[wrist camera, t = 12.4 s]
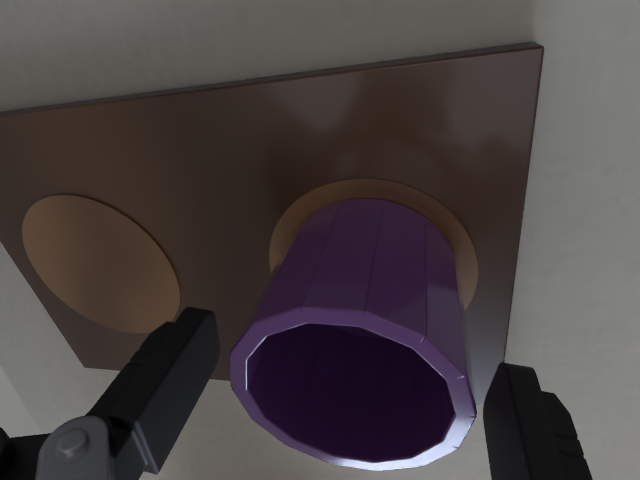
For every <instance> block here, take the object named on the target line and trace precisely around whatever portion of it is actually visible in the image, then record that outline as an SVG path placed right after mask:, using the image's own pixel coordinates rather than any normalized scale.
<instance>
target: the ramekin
mask: <svg viewBox="0 0 640 480" xmlns="http://www.w3.org/2000/svg"><path fill="white" fill-rule="evenodd" d="M229 362H230V382H231V387H232V390H233V392H234V393H235V395H236V396H237V398H238V399H239V401H240V402H241V404H242V405H243V407H244V408H245V410H246V411H247V413H248V414H249V416H250V417H251V419H253V421H254V422H256V423H257V424H258V425H260V426H261V427H262V428H264V429H265V430H266V431H268V432H269V433H270V434H272V435H273V436H274V437H276V438H277V439H278V440H280V441H281V442H282V443H284V444H285V445H288V446H289V447H291V448H293V449H296V450H298V451H301V452H303V453H306V454H308V455H310V456H313V457H315V458H318V459H320V460H323V461H325V462H327V463H331V464H336V465H342V466H348V467H355V468H361V469H367V470H373V471H377V470H378V471H383V470H393V469H403V468H412V467H421V466H425V465H427V464H429V463H431V462H433V461H435V460H437V459H439V458H441V457H443V456H445V455H447V454H449V453H451V452H453V451H455V450H457V449H458V448H459V447H460V445H461V444H462V442H463V440H464V438H465V436H466V435H467V433H468V431H469V429H470V427H471V426H472V424H473V422H474V420H475V419H476V414H477V410H476V402H475V393H474V385H473V377H472V369H471V361H470V353H469V345H468V337H467V329H466V321H465V312H464V304H463V296H462V288H461V283H460V279H459V274H458V266H457V261H456V258H455V254H454V252H453V250H452V247H451V245H450V244H449V242H448V241H447V239H446V237H445V236H444V235H443V234H442V232H441V231H440V230H439V229H438V228H437V227H436V226H435V225H434V224H433V223H431V222H430V221H429V220H428V219H426V218H425V217H423V216H422V215H420V214H419V213H417V212H415V211H413V210H411V209H409V208H407V207H405V206H402V205H399V204H397V203H393V202H389V201H385V200H378V199H351V200H345V201H341V202H337V203H333V204H331V205H328V206H326V207H323V208H322V209H320V210H318V211H316V212H315V213H313V214H312V215H311V216H309V217H308V218H307V219H306V220H305V221H304V222H303V223H302V224H301V225H300V226H299V227H298V229H297V230H296V232H295V233H294V235H293V237H292V239H291V241H290V242H289V243H288V245H287V246H286V248H285V249H284V251H283V253H282V254H281V256H280V258H279V260H278V262H277V264H276V266H275V268H274V270H273V271H272V273H271V275H270V277H269V279H268V281H267V283H266V285H265V286H264V288H263V290H262V292H261V294H260V296H259V298H258V300H257V301H256V303H255V305H254V307H253V309H252V311H251V313H250V315H249V316H248V318H247V320H246V322H245V324H244V326H243V328H242V330H241V331H240V333H239V335H238V337H237V339H236V341H235V343H234V345H233V346H232V348H231V350H230V353H229Z"/></svg>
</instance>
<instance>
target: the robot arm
mask: <svg viewBox="0 0 640 480" xmlns="http://www.w3.org/2000/svg"><path fill="white" fill-rule="evenodd" d="M219 356H220V340H219V334H218V329H217V323H216V317H215V313H214V312H213V311H211V310H206V309H200V308H194V307H186V308H185V309H184V310H183V311H182V313H181V314H180V315H179V317H178V318H177V319H176V321H175V322H169V321H167V322H165V323H164V324H162V325H161V326H159V327H158V328H157V329H155V330H154V331H152V332H151V333H150V334H149V336H148V337H147V338H146V339H145V341H144V342H143V343H142V345H141V346H140V347H139V350H138V351H136V352H135V354H134V355H133V356H132V357H131V359H130V362H129V363H127V364H126V365H125V366H124V368H123V369H122V370H121V372H120V373H119V374H118V375H117V377H116V378H115V379H114V381H113V382H112V383H111V385H110V386H109V387H108V388H107V390H106V391H105V392H104V394H103V395H102V396H101V397H100V399H99V400H98V401H97V403H96V404H95V405H94V406H93V408H92V409H91V410H90V411H89V412H88V413H87V414H86V415H85V416H81V417H78V418H74V419H72V420H69V421H68V422H66V423H64V424H62V425H61V426H59V427H58V428H57V429H56V430H54V431H53V432H52V433H49V434H41V435H32V436H23V437H15V438H9V436H8V435H7V434H6V432H5V431H4V430H3V429H2V428H1V427H0V480H139V478H140V476H141V475H142V473H143V471H145V472H149V473H153V474H157V475H158V473H159V472H160V470H161V468H162V466H163V464H164V462H165V460H166V459H167V457H168V455H169V453H170V451H171V449H172V447H173V446H174V444H175V442H176V440H177V438H178V436H179V434H180V432H181V431H182V429H183V427H184V425H185V423H186V421H187V419H188V418H189V416H190V414H191V412H192V410H193V408H194V406H195V405H196V403H197V401H198V399H199V397H200V395H201V393H202V392H203V390H204V388H205V386H206V384H207V382H208V380H209V379H210V377H211V375H212V373H213V371H214V369H215V367H216V365H217V363H218V360H219ZM483 421H484V428H485V435H486V443H487V450H488V457H489V464H490V471H491V478H492V480H593V479H592V476H591V474H590V471H589V468H588V465H587V462H586V459H584V457H583V455H584V453H583V450H582V447H581V445H580V442H579V440H577V433H576V430H575V427H574V424H573V421H572V418H571V415H570V413H569V412H568V411H567V409H566V408H565V407H564V405H563V404H562V403H561V401H560V400H559V399H558V397H557V396H556V395H555V394H554V393H549V392H544V391H541V389H540V385H539V382H538V378H537V375H536V372H535V370H534V369H533V368H531V367H525V366H520V365H514V364H508V363H502V362H501V363H500V364H499V365H498V367H497V370H496V372H495V375H494V377H493V379H492V382H491V384H490V387H489V389H488V392H487V394H486V397H485V400H484V407H483Z"/></svg>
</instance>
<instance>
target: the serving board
mask: <svg viewBox="0 0 640 480" xmlns="http://www.w3.org/2000/svg"><path fill="white" fill-rule="evenodd" d="M543 55H544V46H542V45H540V44H538V43H536V42H528V43H520V44H513V45H505V46H497V47H490V48H482V49H475V50H467V51H459V52H452V53H444V54H436V55H429V56H421V57H414V58H406V59H398V60H391V61H383V62H376V63H368V64H360V65H353V66H345V67H338V68H330V69H322V70H315V71H307V72H299V73H292V74H284V75H277V76H269V77H261V78H254V79H246V80H239V81H231V82H223V83H216V84H208V85H201V86H193V87H185V88H178V89H170V90H163V91H155V92H147V93H140V94H132V95H124V96H117V97H109V98H102V99H94V100H86V101H79V102H71V103H64V104H56V105H48V106H41V107H33V108H26V109H18V110H10V111H3V112H0V242H1V243H2V245H3V246H4V248H5V249H6V251H7V252H8V254H9V255H10V257H11V258H12V260H13V261H14V263H15V264H16V266H17V267H18V269H19V270H20V272H21V273H22V275H23V276H24V278H25V279H26V281H27V282H28V284H29V285H30V287H31V288H32V290H33V291H34V293H35V294H36V296H37V297H38V299H39V300H40V302H41V303H42V305H43V306H44V308H45V309H46V311H47V312H48V314H49V315H50V317H51V318H52V320H53V321H54V323H55V324H56V326H57V327H58V329H59V330H60V332H61V333H62V335H63V336H64V338H65V339H66V341H67V342H68V344H69V345H70V347H71V348H72V350H73V351H74V353H75V354H76V356H77V357H78V359H79V360H80V362H81V363H82V365H83V366H84V367H85V368H96V369H107V370H118V371H121V370H122V369H123V368H124V366H125V365H126V364H127V363H129V362H130V359H131V357H132V356H133V355H134V354H135V352H136V351H138V350H139V347H140V346H141V345H142V343H143V342H144V341H145V339H146V338H147V337H148V336H149V334H150V333H151V332H152V331H154V330H155V329H157V328H158V327H159V326H161V325H162V324H164V323H165V322H167V321H169V322H175V321H176V319H177V318H178V317H179V315H180V314H181V313H182V311H183V310H184V309H185V308H186V307H194V308H200V309H206V310H211V311H213V312H214V313H215V317H216V323H217V329H218V334H219V340H220V356H219V360H218V363H217V365H216V367H215V369H214V371H213V373H212V375H211V377H210V379H216V380H227V381H230V362H229V353H230V350H231V348H232V346H233V345H234V343H235V341H236V339H237V337H238V335H239V333H240V331H241V330H242V328H243V326H244V324H245V322H246V320H247V318H248V316H249V315H250V313H251V311H252V309H253V307H254V305H255V303H256V301H257V300H258V298H259V296H260V294H261V292H262V290H263V288H264V286H265V285H266V283H267V281H268V279H269V277H270V275H271V273H272V271H273V270H274V268H275V266H276V264H277V262H278V260H279V258H280V256H281V254H282V253H283V251H284V249H285V248H286V246H287V245H288V243H289V242H290V241H291V239H292V237H293V235H294V233H295V232H296V230H297V229H298V227H299V226H300V225H301V224H302V223H303V222H304V221H305V220H306V219H307V218H308V217H309V216H311V215H312V214H313V213H315V212H316V211H318V210H320V209H322V208H323V207H326V206H328V205H331V204H333V203H337V202H341V201H345V200H351V199H378V200H385V201H389V202H393V203H397V204H399V205H402V206H405V207H407V208H409V209H411V210H413V211H415V212H417V213H419V214H420V215H422V216H423V217H425V218H426V219H428V220H429V221H430V222H431V223H433V224H434V225H435V226H436V227H437V228H438V229H439V230H440V231H441V232H442V234H443V235H444V236H445V237H446V239H447V241H448V242H449V244H450V245H451V247H452V250H453V252H454V254H455V258H456V261H457V266H458V274H459V279H460V283H461V288H462V296H463V304H464V312H465V321H466V329H467V337H468V345H469V353H470V361H471V369H472V377H473V385H474V393H475V402H476V403H478V404H484V400H485V397H486V394H487V392H488V389H489V387H490V384H491V382H492V379H493V377H494V375H495V372H496V370H497V367H498V365H499V364H500V363H501V362H502V363H504V358H505V350H506V343H507V335H508V327H509V319H510V312H511V304H512V296H513V288H514V281H515V273H516V265H517V257H518V249H519V242H520V234H521V226H522V218H523V211H524V203H525V195H526V187H527V179H528V172H529V164H530V156H531V148H532V141H533V133H534V125H535V117H536V110H537V102H538V94H539V86H540V78H541V71H542V63H543Z"/></svg>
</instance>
